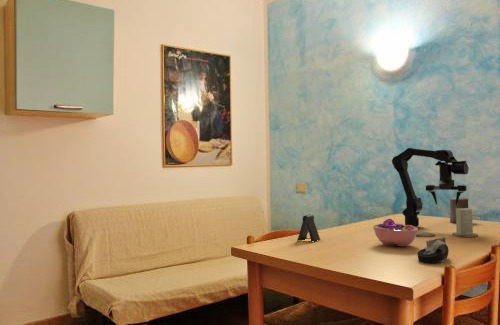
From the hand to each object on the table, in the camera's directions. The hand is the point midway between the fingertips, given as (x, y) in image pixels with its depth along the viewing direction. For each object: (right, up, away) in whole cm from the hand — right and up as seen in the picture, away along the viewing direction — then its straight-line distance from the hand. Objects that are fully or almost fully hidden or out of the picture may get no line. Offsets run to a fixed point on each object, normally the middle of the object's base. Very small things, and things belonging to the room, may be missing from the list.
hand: (446, 204), depth 220 cm
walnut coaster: (+2, -13, -15) cm, 20 cm away
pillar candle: (+18, -13, +23) cm, 32 cm away
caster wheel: (-33, -15, -62) cm, 71 cm away
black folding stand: (-73, -15, -17) cm, 76 cm away
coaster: (-16, -14, -11) cm, 24 cm away
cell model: (-37, -15, -34) cm, 52 cm away
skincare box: (+2, -13, -15) cm, 20 cm away
